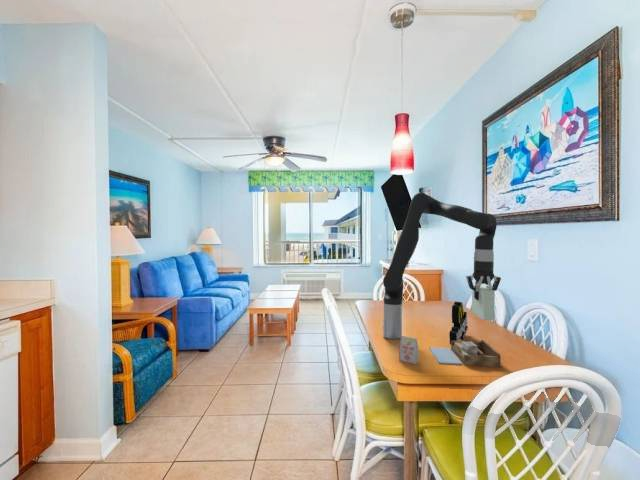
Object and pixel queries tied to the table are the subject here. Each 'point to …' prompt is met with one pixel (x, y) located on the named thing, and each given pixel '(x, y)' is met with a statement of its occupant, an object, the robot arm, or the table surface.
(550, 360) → the table surface
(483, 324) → the table surface
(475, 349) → the offcut
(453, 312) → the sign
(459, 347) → the offcut
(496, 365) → the wooden tray
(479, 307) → the pale green slab
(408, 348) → the printed grey box
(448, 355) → the mat
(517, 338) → the table surface
